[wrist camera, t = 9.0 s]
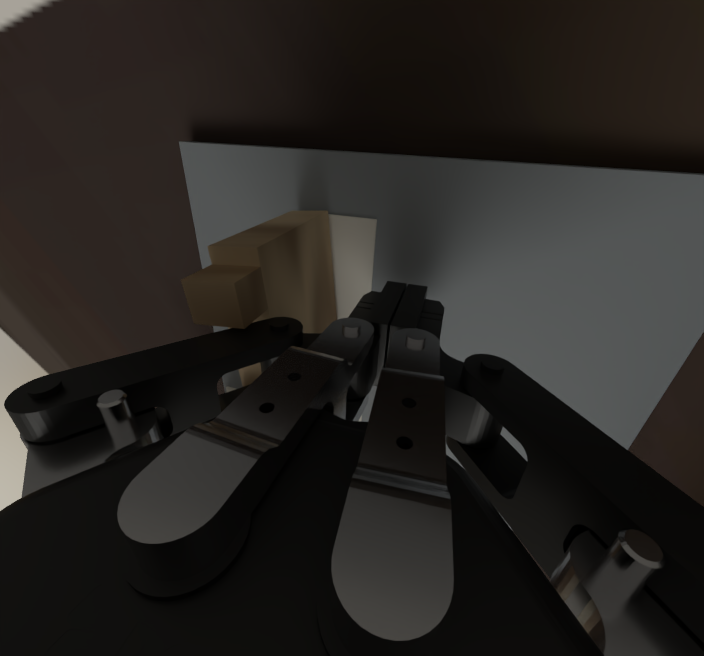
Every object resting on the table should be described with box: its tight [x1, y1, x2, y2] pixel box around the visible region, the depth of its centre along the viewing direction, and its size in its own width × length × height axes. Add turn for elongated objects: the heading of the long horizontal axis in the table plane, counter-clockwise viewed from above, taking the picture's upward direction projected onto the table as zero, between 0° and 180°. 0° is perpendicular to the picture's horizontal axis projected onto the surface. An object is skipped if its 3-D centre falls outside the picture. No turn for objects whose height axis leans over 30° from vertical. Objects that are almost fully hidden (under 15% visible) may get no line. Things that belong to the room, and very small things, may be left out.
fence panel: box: [181, 211, 337, 387], centre depth 13 cm, size 11×2×6 cm, turn 3°
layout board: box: [179, 141, 704, 530], centre depth 16 cm, size 20×18×1 cm
